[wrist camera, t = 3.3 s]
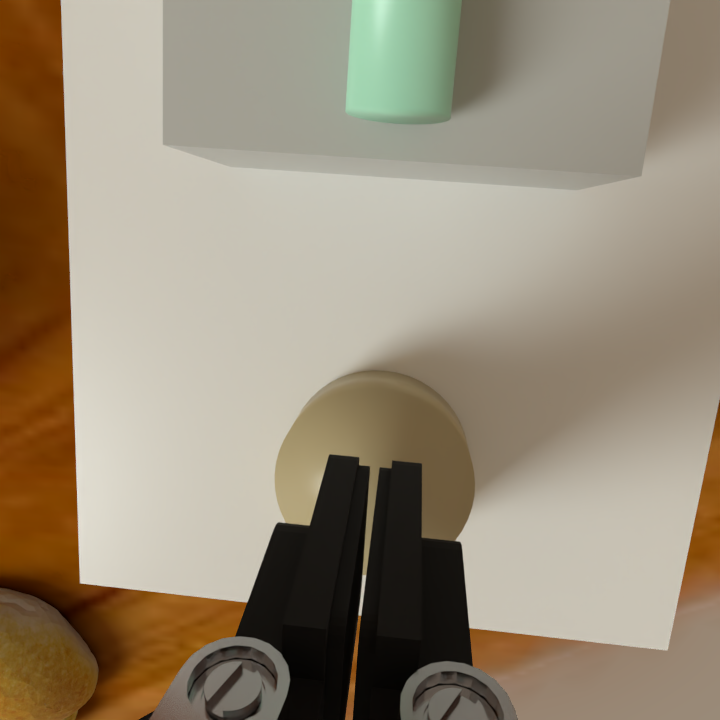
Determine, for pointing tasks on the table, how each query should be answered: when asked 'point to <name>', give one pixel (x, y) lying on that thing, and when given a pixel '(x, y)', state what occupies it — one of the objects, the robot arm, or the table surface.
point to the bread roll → (41, 661)
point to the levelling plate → (398, 288)
